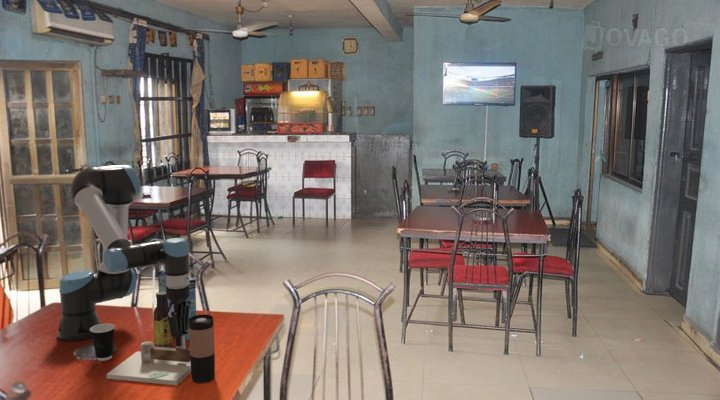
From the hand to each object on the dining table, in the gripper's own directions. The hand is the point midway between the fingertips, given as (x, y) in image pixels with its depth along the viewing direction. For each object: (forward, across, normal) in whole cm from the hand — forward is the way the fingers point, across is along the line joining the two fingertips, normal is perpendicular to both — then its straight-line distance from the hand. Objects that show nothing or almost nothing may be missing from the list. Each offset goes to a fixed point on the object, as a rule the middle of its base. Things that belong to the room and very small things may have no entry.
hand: (180, 353), depth 197 cm
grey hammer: (+2, -3, +4) cm, 5 cm away
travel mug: (+4, -8, -12) cm, 15 cm away
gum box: (+4, +26, +14) cm, 30 cm away
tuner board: (+4, -5, +6) cm, 9 cm away
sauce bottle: (+4, +13, +13) cm, 19 cm away
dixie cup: (+4, 0, +28) cm, 29 cm away
